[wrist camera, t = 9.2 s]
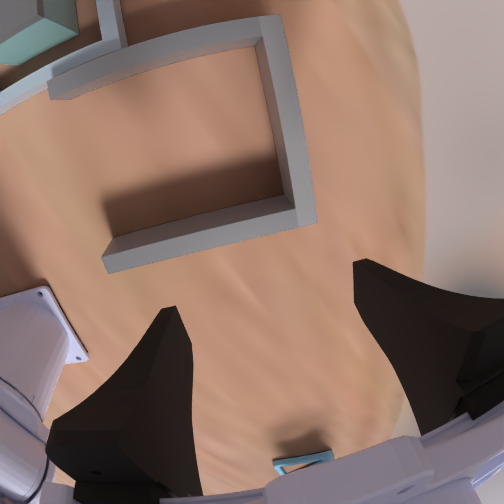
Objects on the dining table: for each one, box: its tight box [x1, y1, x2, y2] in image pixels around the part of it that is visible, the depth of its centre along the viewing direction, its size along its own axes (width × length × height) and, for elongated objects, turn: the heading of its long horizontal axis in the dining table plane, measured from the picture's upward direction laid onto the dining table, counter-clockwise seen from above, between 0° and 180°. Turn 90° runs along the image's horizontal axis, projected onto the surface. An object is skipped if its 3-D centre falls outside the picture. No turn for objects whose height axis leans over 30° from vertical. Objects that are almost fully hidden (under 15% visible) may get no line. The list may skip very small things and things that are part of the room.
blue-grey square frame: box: [0, 0, 128, 115], centre depth 12 cm, size 11×11×2 cm
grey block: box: [0, 0, 80, 66], centre depth 10 cm, size 5×5×6 cm
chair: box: [273, 450, 334, 475], centre depth 33 cm, size 8×8×12 cm
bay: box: [47, 14, 318, 274], centre depth 17 cm, size 13×12×3 cm
